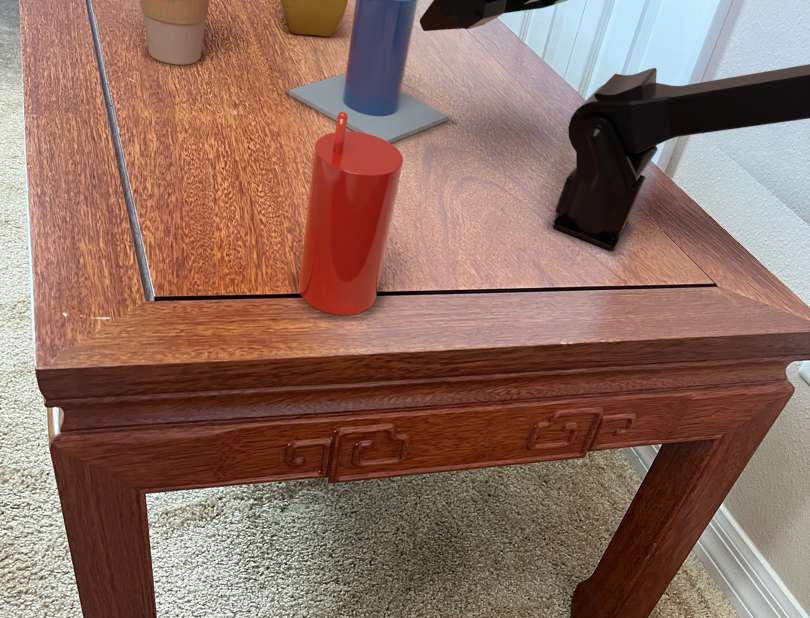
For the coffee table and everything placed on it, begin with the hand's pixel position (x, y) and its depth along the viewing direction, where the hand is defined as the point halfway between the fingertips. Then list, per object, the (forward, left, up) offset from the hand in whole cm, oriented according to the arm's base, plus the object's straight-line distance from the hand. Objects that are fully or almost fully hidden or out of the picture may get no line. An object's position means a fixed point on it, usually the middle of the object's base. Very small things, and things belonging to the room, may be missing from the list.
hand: (450, 18), depth 81 cm
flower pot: (+26, -19, -14) cm, 35 cm away
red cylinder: (-5, +29, -14) cm, 33 cm away
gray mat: (+9, -4, -14) cm, 16 cm away
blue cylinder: (+9, -4, -13) cm, 16 cm away
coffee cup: (+32, +1, -14) cm, 35 cm away
